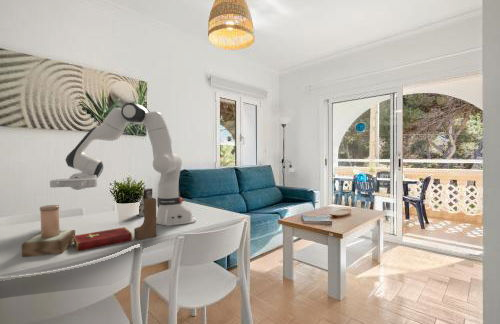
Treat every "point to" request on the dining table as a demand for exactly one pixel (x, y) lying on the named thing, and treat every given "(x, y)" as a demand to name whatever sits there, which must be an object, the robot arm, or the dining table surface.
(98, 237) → the hardcover book
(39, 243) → the walnut pedestal
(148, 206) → the wooden block
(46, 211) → the terracotta jar
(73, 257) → the dining table surface
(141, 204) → the coffee box
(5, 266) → the dining table surface
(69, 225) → the dining table surface
